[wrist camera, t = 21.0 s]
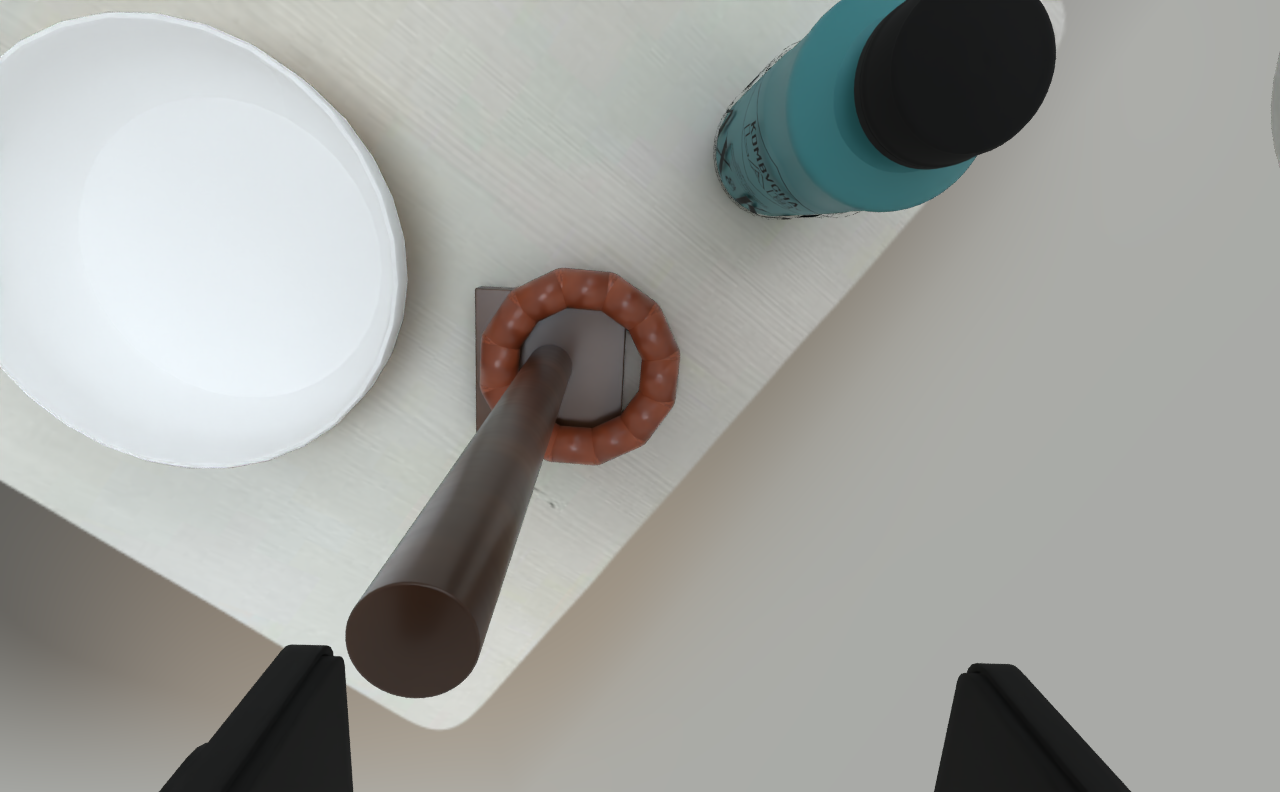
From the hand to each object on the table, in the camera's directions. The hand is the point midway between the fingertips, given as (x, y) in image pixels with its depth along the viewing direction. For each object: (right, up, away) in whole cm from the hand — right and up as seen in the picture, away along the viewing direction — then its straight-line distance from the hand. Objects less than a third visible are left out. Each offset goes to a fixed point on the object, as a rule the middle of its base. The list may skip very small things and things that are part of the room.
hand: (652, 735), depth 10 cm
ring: (-3, +6, +24) cm, 25 cm away
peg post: (-5, +7, +26) cm, 28 cm away
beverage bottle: (+7, +18, +24) cm, 31 cm away
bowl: (-21, +13, +24) cm, 34 cm away
